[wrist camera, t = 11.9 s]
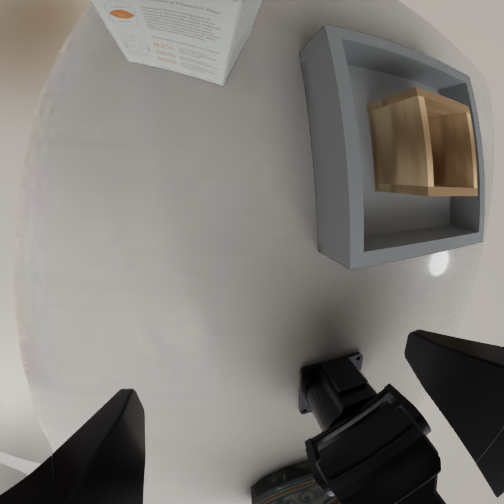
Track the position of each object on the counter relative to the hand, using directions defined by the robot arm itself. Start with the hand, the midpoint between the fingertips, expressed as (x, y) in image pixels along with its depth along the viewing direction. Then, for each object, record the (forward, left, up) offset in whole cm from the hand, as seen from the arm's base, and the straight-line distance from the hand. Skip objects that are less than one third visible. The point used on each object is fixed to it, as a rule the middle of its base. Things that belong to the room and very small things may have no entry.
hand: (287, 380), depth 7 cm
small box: (+17, +2, -13) cm, 22 cm away
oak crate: (+8, -15, -12) cm, 20 cm away
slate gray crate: (+8, -15, -13) cm, 21 cm away
